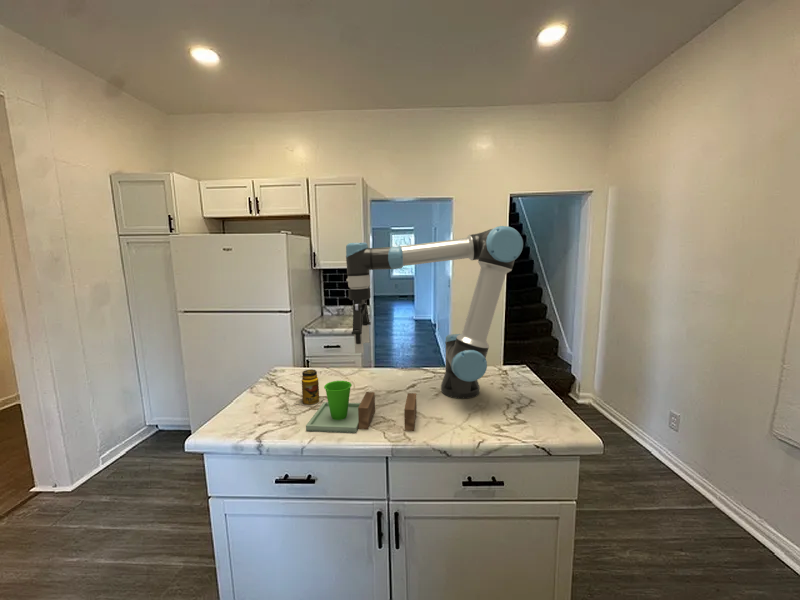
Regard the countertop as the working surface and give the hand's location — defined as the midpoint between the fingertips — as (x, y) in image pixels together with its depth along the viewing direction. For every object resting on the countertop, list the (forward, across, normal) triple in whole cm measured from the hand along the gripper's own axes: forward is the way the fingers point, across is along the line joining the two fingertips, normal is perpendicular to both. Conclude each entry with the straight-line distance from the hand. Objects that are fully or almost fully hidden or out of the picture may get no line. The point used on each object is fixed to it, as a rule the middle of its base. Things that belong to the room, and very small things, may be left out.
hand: (362, 347), depth 125 cm
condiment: (+22, -4, -22) cm, 31 cm away
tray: (+22, +10, -8) cm, 25 cm away
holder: (+22, +11, +9) cm, 26 cm away
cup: (+21, +10, -8) cm, 25 cm away
